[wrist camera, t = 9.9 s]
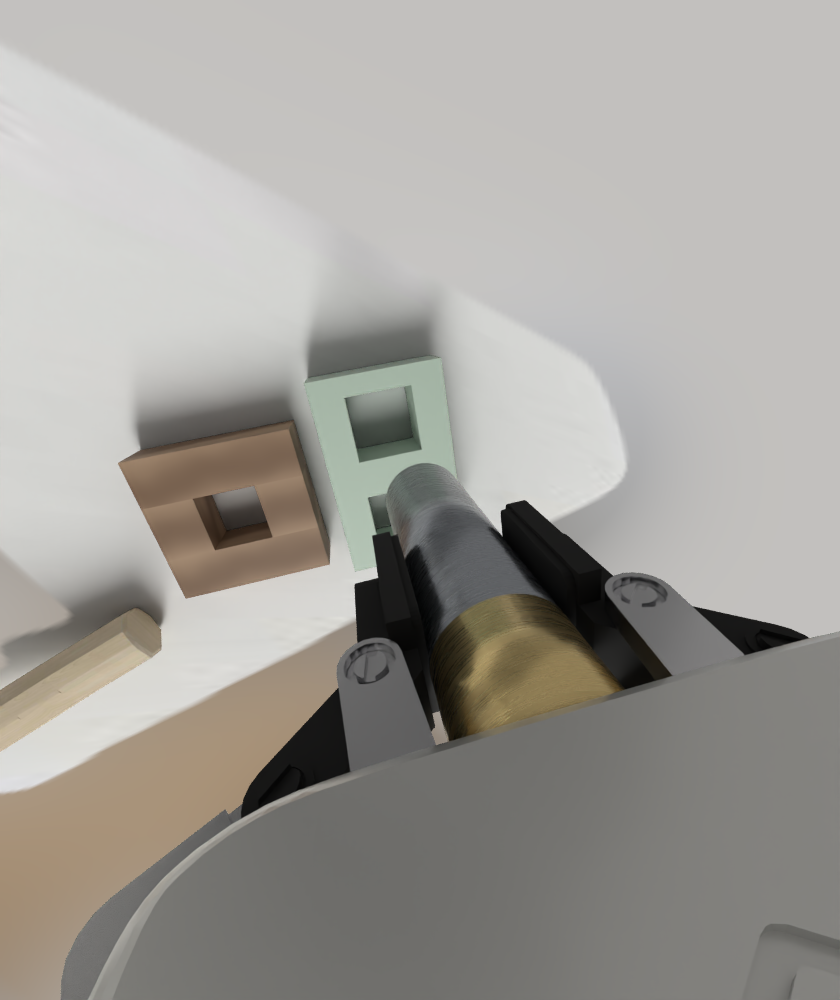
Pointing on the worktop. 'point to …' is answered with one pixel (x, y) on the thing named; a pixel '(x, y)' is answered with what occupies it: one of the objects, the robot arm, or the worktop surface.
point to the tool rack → (378, 465)
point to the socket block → (197, 523)
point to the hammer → (76, 674)
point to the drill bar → (485, 613)
